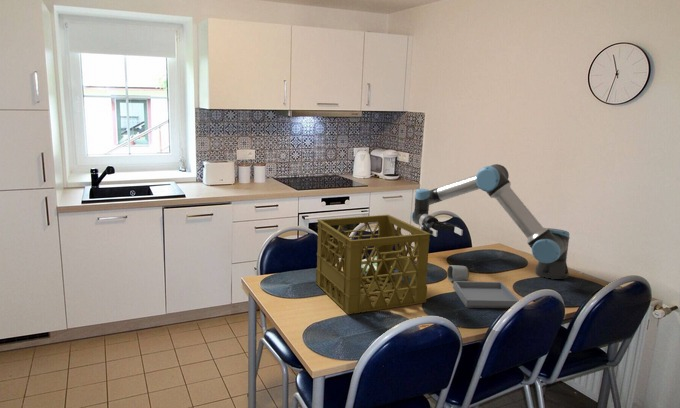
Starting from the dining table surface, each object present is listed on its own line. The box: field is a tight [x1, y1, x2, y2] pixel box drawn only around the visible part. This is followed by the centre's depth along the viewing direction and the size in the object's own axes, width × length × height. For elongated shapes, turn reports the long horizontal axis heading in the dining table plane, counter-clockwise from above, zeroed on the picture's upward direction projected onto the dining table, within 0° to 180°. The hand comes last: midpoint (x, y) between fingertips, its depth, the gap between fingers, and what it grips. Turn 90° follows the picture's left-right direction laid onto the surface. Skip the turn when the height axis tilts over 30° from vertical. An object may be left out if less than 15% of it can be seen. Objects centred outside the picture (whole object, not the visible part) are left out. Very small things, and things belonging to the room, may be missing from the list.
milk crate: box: [315, 214, 432, 315], centre depth 216 cm, size 36×35×30 cm
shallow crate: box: [452, 280, 520, 309], centre depth 219 cm, size 22×22×3 cm
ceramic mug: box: [446, 264, 470, 282], centre depth 239 cm, size 11×8×8 cm
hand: (449, 233), depth 244 cm, fingers open, 13 cm apart
